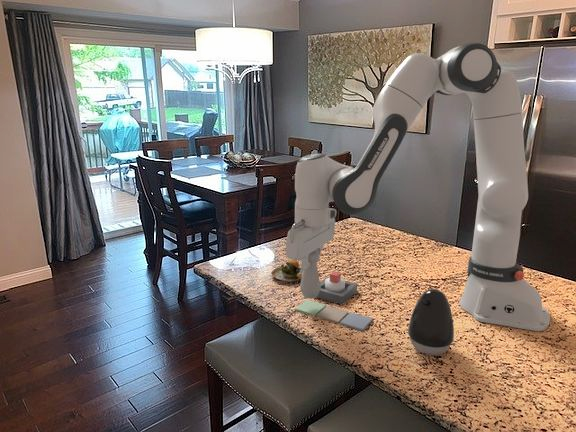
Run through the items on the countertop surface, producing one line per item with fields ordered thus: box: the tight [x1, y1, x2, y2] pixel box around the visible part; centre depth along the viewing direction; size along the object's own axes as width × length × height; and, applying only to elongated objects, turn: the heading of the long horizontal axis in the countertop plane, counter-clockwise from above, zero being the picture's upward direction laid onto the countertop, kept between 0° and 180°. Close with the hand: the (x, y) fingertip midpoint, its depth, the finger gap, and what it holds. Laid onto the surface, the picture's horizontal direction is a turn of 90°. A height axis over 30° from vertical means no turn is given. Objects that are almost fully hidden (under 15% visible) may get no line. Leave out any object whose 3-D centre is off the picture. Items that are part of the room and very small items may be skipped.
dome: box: [324, 270, 346, 293], centre depth 130 cm, size 6×6×6 cm
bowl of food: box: [271, 259, 303, 285], centre depth 142 cm, size 12×12×8 cm
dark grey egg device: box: [407, 288, 455, 356], centre depth 101 cm, size 10×10×15 cm
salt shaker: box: [299, 251, 321, 300], centre depth 119 cm, size 6×6×13 cm
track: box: [294, 298, 374, 332], centre depth 118 cm, size 20×6×1 cm, turn 57°
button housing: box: [316, 276, 358, 305], centre depth 131 cm, size 10×10×2 cm
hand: (310, 264), depth 118 cm, fingers closed on salt shaker, 4 cm apart
